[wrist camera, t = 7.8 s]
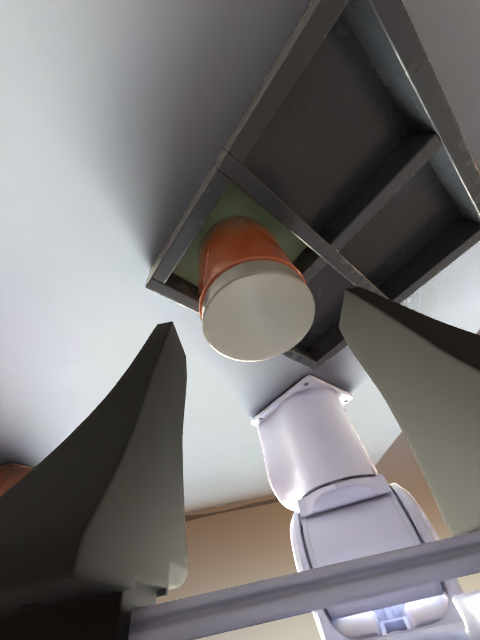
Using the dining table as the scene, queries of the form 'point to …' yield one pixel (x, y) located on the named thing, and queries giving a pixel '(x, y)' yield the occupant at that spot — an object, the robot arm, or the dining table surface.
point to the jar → (250, 292)
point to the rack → (341, 169)
